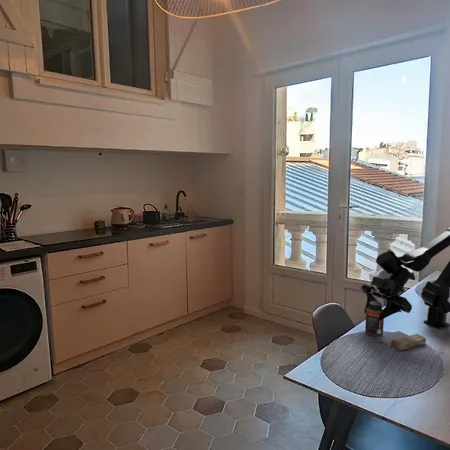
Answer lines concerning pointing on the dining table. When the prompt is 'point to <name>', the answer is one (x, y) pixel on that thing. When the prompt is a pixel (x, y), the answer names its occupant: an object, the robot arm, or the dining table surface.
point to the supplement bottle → (374, 319)
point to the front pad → (391, 337)
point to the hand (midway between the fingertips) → (371, 316)
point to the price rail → (408, 342)
